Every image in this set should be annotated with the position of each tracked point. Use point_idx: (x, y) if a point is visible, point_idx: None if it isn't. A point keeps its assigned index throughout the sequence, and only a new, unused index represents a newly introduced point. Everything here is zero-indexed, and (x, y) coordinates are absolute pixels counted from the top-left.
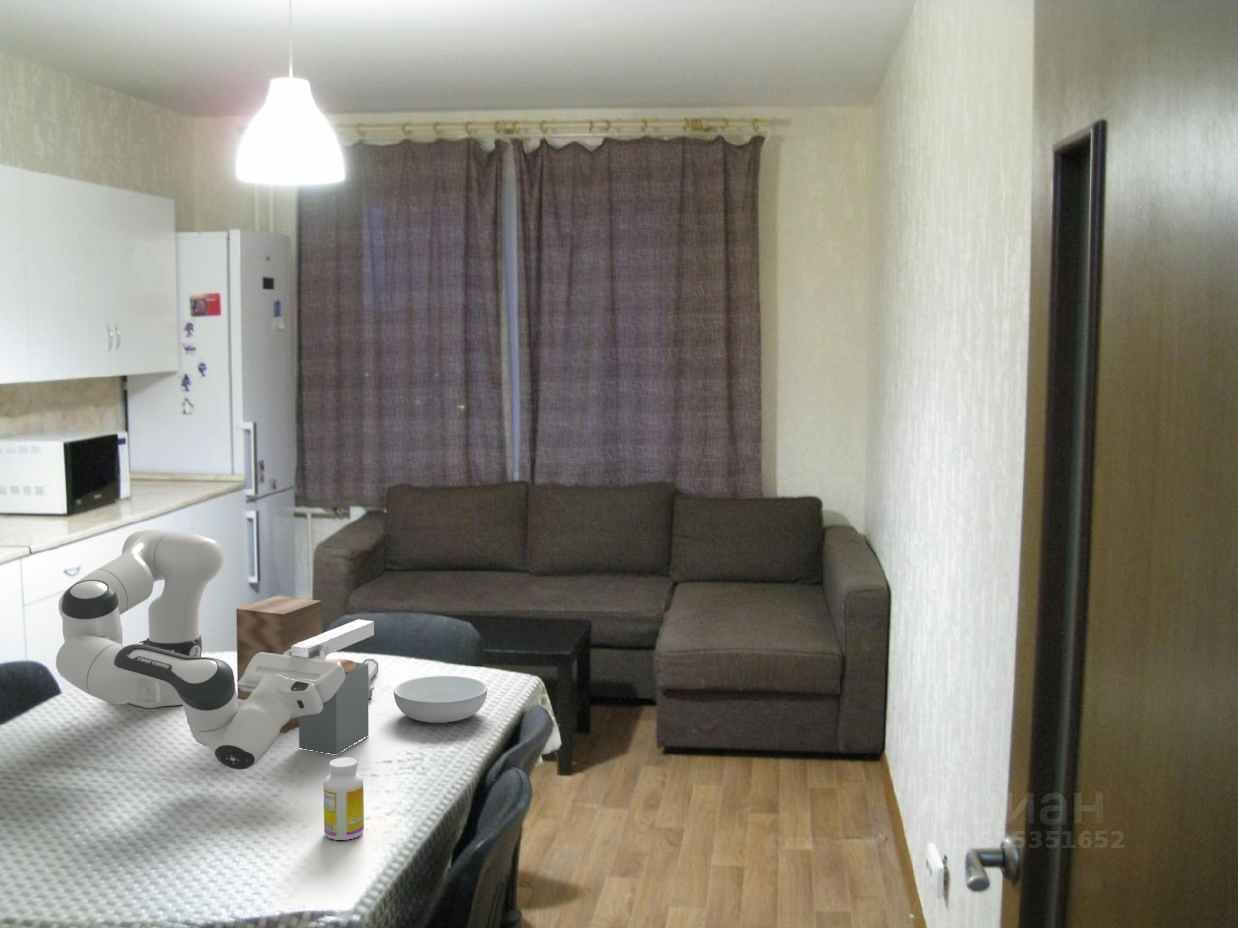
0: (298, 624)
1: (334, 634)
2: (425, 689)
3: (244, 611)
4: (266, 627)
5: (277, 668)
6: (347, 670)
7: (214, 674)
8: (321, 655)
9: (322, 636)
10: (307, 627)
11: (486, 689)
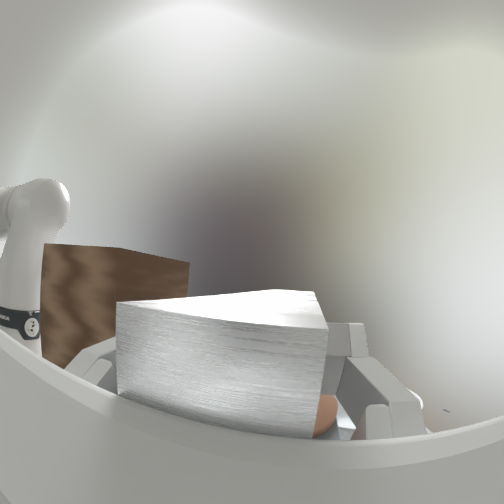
0: (149, 289)
1: (292, 296)
2: None
3: (53, 247)
4: (82, 282)
5: (3, 492)
6: (334, 417)
7: None
8: (391, 390)
9: (262, 296)
10: None
11: (410, 390)
